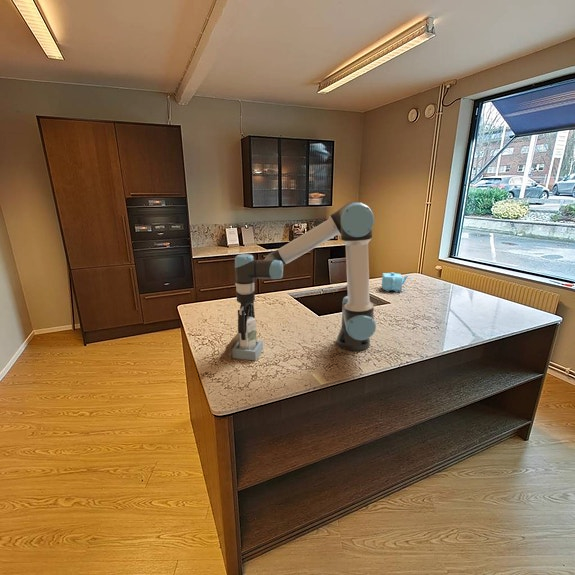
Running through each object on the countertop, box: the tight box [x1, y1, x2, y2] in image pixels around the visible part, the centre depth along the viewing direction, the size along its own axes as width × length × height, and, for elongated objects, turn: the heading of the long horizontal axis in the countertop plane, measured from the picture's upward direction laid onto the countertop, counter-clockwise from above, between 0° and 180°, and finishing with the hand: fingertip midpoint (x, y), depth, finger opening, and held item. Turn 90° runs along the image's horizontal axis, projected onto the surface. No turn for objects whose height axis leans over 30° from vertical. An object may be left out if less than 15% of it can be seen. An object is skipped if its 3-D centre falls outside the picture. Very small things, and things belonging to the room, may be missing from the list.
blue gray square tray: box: [232, 339, 264, 361], centre depth 141 cm, size 10×10×4 cm
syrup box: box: [237, 316, 257, 350], centre depth 139 cm, size 6×6×14 cm
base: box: [219, 332, 238, 361], centre depth 142 cm, size 5×14×6 cm, turn 167°
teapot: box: [381, 272, 411, 293], centre depth 227 cm, size 18×16×13 cm
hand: (247, 341), depth 140 cm, fingers closed on syrup box, 7 cm apart
